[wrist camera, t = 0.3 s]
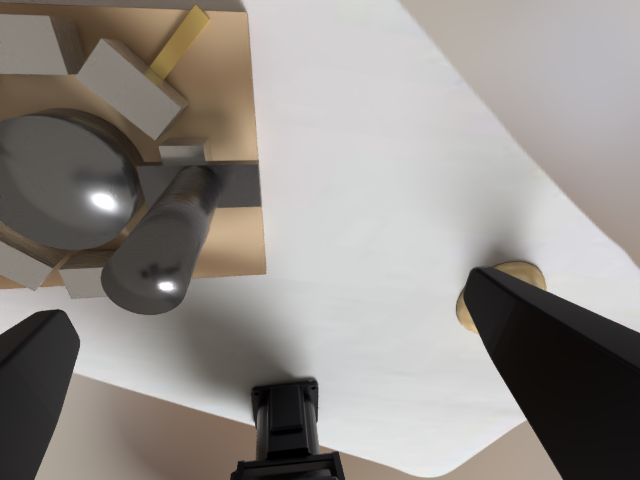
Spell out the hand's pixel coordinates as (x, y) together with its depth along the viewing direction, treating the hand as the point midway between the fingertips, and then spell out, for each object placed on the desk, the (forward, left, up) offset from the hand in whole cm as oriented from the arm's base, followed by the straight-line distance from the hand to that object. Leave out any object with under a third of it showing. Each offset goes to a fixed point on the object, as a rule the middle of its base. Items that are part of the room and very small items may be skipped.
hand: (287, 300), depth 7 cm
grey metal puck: (-1, +11, -14) cm, 18 cm away
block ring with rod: (-1, +10, -14) cm, 17 cm away
